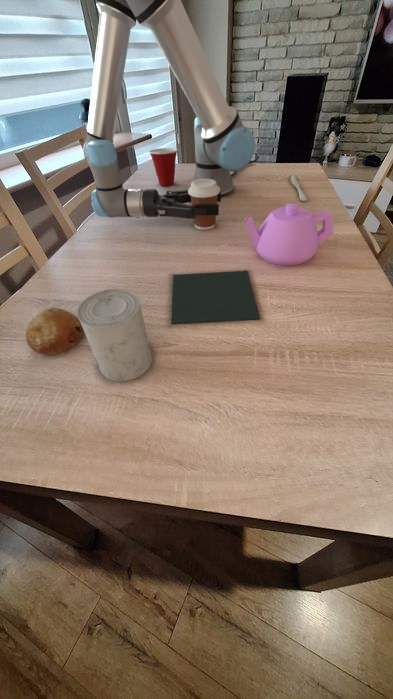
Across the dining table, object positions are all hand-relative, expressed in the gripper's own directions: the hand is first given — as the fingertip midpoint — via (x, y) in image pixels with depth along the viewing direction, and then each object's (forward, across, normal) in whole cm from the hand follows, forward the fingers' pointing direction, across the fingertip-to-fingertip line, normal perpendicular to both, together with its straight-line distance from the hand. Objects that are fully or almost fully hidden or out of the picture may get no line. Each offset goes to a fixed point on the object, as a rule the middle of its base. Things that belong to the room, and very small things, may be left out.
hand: (219, 202), depth 88 cm
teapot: (+18, +17, -7) cm, 25 cm away
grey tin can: (-14, +57, -7) cm, 59 cm away
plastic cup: (-23, -38, -7) cm, 45 cm away
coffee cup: (-5, 0, -7) cm, 8 cm away
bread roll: (-29, +52, -7) cm, 60 cm away
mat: (+1, +36, -6) cm, 37 cm away
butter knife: (+27, -31, -6) cm, 42 cm away
